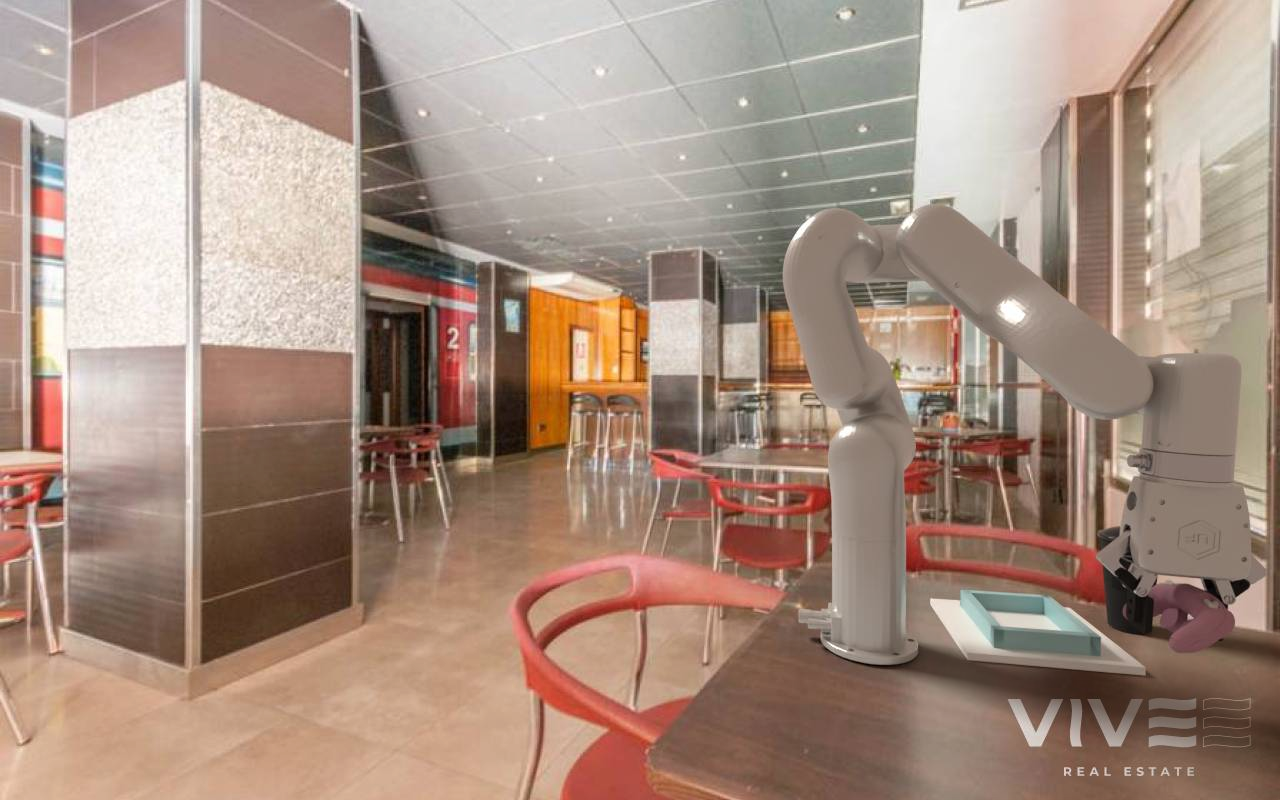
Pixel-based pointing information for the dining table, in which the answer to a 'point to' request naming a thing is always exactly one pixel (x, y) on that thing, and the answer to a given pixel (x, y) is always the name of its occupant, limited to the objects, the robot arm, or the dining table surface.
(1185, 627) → the video game controller
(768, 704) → the dining table surface
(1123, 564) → the drinking cup
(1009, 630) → the dock
